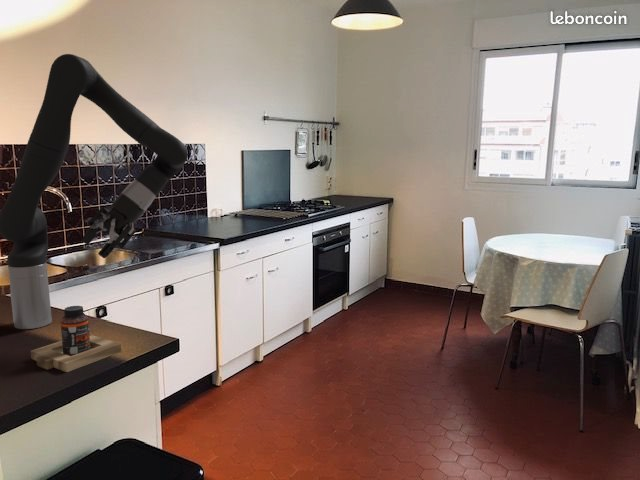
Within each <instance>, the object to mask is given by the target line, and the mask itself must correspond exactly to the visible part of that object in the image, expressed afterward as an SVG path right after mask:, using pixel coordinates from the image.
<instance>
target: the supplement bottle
mask: <svg viewBox="0 0 640 480" xmlns="http://www.w3.org/2000/svg"><path fill="white" fill-rule="evenodd" d="M63 313H64V315H63V317H62V318H61V320H60V331H61V333H60V334H61V341H62V346H63V354H66V355H68V356H73V355H76V354H79V353H81V352H84V351H87V350H90V335H91V334H90V325H89V323H90V322H89V317H88V315H86V314H85V313H84V307H83V306H82V305H71V306H66V307H65V308H64V312H63ZM89 334H90V335H89Z"/></svg>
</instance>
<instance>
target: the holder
mask: <svg viewBox="0 0 640 480" xmlns="http://www.w3.org/2000/svg"><path fill="white" fill-rule="evenodd" d="M89 335H90V350H87V351H84V352H81V353H79V354H76V355H73V356H68V355H66V354H63V346H62V340H60V341H57V342H54V343H51V344H48V345H44V346H42V347H38V348H35V349H32V350H30V357H31V358H30V359H31V360H33V361H36V366H37V367H39V368H42V369H45V370H47V371H48V370H51V369H53V368H55V369H57V370H59V371H62V372H64V373H65V372H66V373H69V372H71V371H74V370H77V369H80V368H82V367H84V366H87V365H90V364H93V363H95V362H98V361H101V360H103V359H106V358H108V357H110V356H113V355H116V354H118V353H121V352H122V345H121V344H122V343H119V342H116V341H114V340H109V339H107V338H103V337H99V336H95V335H93V334H90V333H89Z"/></svg>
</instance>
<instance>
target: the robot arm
mask: <svg viewBox="0 0 640 480" xmlns="http://www.w3.org/2000/svg"><path fill="white" fill-rule="evenodd" d="M80 96H82V97H84V98H85V99H87V100H88V101H90V102H92V103H93V104H95V105H96V106H98V108H100V109H101V110H102V111H103V112H104V113H105V114H106V115H108V117H109V118H110V119H112V121H113V122H114V123H115V124H116V125H117V126H118V127H119V129H121V130H122V131H123V132H124V133H125V134H127V135H128V136H129V137H130V138H131V139H133V140H134V141H135V142H137V143H138V144H139V145H141V146H142V147H144V148H147V149H149V150H151V151H152V152H153V153H154V154H155V155H157V156H156V157H155V158H154V159H153V161H152V162H151V163H150V164H149V165H147V166H145V168H143V170H142V171H141V172H140V173H139V174H138V175H137V176H136V177H135V179H133V181H132V182H130V183H129V184H128V185H127V186H126V187H125V188H124V189H123V190H122V192H121V193H120V194H119V195H118V196H117V197H116V199H115V200H114V201H113V202H112V203H111V205H110V206H111V209H110V210H109V209H107V208H105V207H104V206H102V207H101V208H100V209H99V210H98V211H97V212H96V213H95V214H94V215H93V216H92V217H91V218H90V220H88V222H87V225H88V226H89V229H88V230H87V232H85V234H84V235H83V237H82V238H80V239H81V242H82V243H83V244H85V245H87V246H88V245H89V244H90V243H91V242H92V241H93V240H94V239H95V237H97V235H98V234H99V233H101V232H103V231H104V232H107V231H108V232H109V234H108V235H109V239H108V242H106V243H105V245H103V247H102V248H101V249H100V250H99V251H98V255H99V257H101V258H103V259H106V258H107V257H109V255H110V254H111V253H112V251H114V249H116V248H117V249H118V248H120V249H123V248H125V247H126V244H127V243H129V241H130V240H131V239H132V238H133V236H134V235H135V233H136V232H137V231H136V229H135V228H134V227H133V226H132V225H131V224H135V223H137V222H138V220H140V218H141V216H143V214H144V213H145V212H146V211H147V209H148V208H150V206H151V205H152V204H153V201H154V200H155V199H156V198H157V196H158V195H159V194H160V193H161V191H162V190H164V188H165V186H166V185H167V184H168V182H169V181H170V180H171V179H172V178H173V177H175V176H176V174H177V173H178V172H179V171H181V169H182V168H183V167H184V165H185V163H186V162H187V160H188V157H189V156H188V155H189V152H188V148H187V146H186V145H185V143H183V142H182V141H181V140H180V139H179V138H177V137H176V136H174V135H173V134H171V133H170V132H169V131H168V130H165V129H163V128H162V127H160V125H159V124H157V123H156V122H155V121H154V120H152V119H151V118H150V117H149V116H147V115H146V114H145V113H144V112H142V111H141V110H140V109H139V108H137V107H136V106H135V105H133V104H132V103H131V102H130V101H128V100H127V99H126V98H125V97H124V96H122V95H121V94H120V93H119V92H117V90H115V88H113V87H112V86H111V85H110V84H109V83H108V82H107V81H106V80H105V79H104V78H103V76H102V75H101V74H100V73H99V72H98V70H97V69H96V68H95V67H94V66H93V65H92V64H91V63H90V61H88V60H87V59H85V58H83V57H80V56H78V55H75V54H71V53H65V54H61V55H59V56H58V57H57V58H56V59H54V61H53V62H52V63H51V67H50V70H49V74H48V79H47V84H46V87H45V93H44V97H43V101H42V104H41V107H40V109H39V112H38V114H37V116H36V119H35V122H34V125H33V127H32V130H31V132H30V135H29V138H28V141H27V143H26V146H25V150H24V153H23V156H22V159H21V162H20V165H19V168H18V171H17V173H16V177H15V180H14V182H13V185H12V187H11V190H10V192H9V195H8V196H7V198H6V201H5V203H4V205H3V207H2V209H1V211H0V236H1V237H2V238H3V239H4V240H6V241H8V242H12V243H13V245H12V246H13V247H12V249H11V250H10V252H9V254H8V255H7V257H6V258H7V269H8V279H9V286H10V287H9V288H10V303H11V310H12V321H13V325H14V326H13V327H14V328H15V329H17V330H31V329H38V328H42V327H45V326H48V325H50V324H51V323H52V322H53V318H52V309H51V308H52V307H51V298H50V297H51V296H50V286H49V276H48V266H47V253H48V251H49V238H48V237H49V236H48V235H49V234H48V233H49V232H48V222H47V218H46V216H45V213H44V212H43V211H42V209H40V207H39V203H40V201H41V198H42V196H43V194H44V192H45V191H46V190H47V189H48V187H49V186H50V185H51V183H52V182H53V180H55V178H56V177H57V175H58V174H59V172H60V170H61V169H62V166H63V164H64V162H65V158H66V156H67V153H68V150H69V146H70V141H71V132H72V131H71V129H72V128H71V126H72V116H73V112H74V109H75V107H76V105H77V102H78V100H79V98H80Z"/></svg>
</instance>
